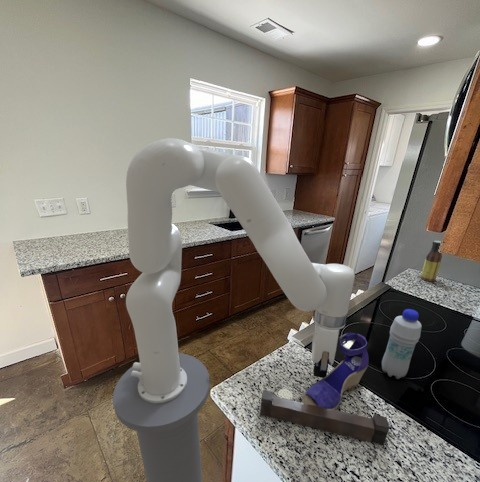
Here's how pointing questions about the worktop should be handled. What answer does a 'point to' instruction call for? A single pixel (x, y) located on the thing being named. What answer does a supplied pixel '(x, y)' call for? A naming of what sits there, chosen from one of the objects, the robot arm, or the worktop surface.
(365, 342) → the sandal
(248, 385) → the worktop surface
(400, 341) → the bottle
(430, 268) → the sauce bottle
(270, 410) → the rail
